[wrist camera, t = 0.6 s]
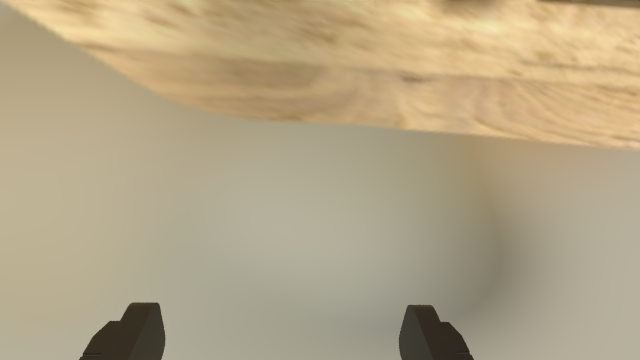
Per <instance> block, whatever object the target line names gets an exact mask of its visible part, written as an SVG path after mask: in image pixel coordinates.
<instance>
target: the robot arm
mask: <svg viewBox="0 0 640 360" xmlns="http://www.w3.org/2000/svg"><path fill="white" fill-rule="evenodd" d="M164 347H165V332H164V326H163V321H162V316H161V310H160V305H159V304H158V303H131V304H130V305H129V306H128V308H127V310H126V311H125V313H124V315H123V317H122V318H121V320H120V321H110V322H108V323H107V324H106V325H105V326H104V327H103V328H102V329H101V330H99V331H98V332H97V333H96V334H95V335H94V336H93V338H92V339H91V341H90V343H89V344H88V346H87V348H86V349H85V351H84V353H83V356H82V357H80V359H79V360H161V358H162V355H163V352H164ZM399 349H400V355H401V358H402V360H474V359H473V357H472V355H470V353H469V349H468V347H467V345H466V343H465V341H464V339H463V337H462V336H461V334H460V333H459V332H458V331H457V330H456V329H455V328H454V327H453V326H452V325H451V324H450V323H449V322H440V320H439V317H438V315H437V313H436V311H435V309H434V308H433V306H431V305H408V307H407V309H406V313H405V316H404V320H403V324H402V327H401V331H400V335H399Z"/></svg>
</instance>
